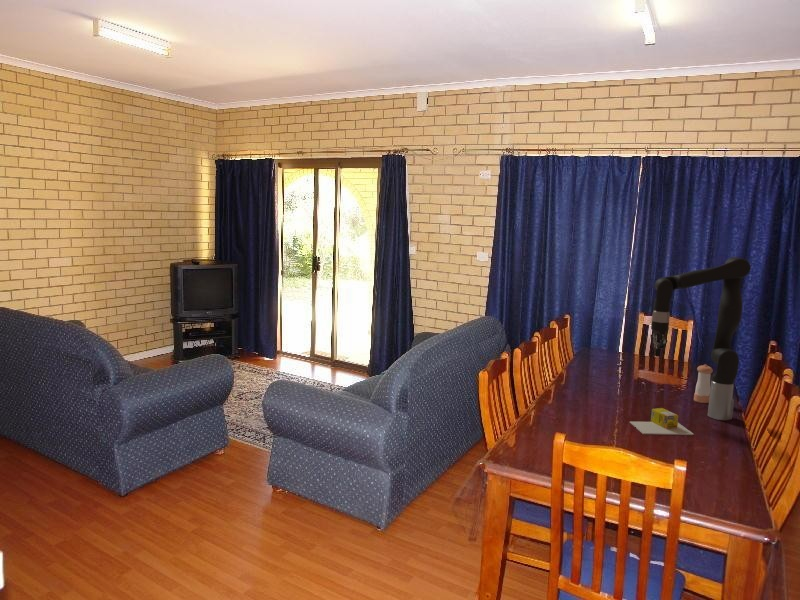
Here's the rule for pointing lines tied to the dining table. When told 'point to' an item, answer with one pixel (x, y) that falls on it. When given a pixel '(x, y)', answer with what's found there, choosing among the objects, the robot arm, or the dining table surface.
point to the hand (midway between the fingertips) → (657, 356)
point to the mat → (660, 429)
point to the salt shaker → (703, 384)
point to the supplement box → (664, 418)
